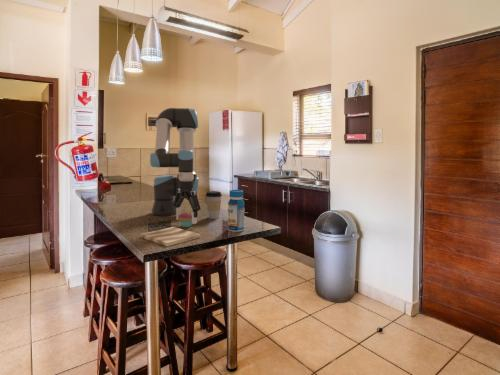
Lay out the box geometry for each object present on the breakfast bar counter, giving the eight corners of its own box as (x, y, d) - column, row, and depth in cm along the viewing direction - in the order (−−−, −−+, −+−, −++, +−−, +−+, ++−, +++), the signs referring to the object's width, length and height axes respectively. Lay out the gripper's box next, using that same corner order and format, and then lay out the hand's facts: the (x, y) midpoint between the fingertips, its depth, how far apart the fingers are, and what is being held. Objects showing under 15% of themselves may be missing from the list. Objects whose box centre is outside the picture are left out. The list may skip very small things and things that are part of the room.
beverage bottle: (245, 231, 159) (246, 191, 157) (228, 232, 158) (228, 191, 155) (243, 227, 167) (243, 189, 165) (226, 228, 166) (227, 189, 163)
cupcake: (186, 223, 175) (186, 201, 173) (198, 225, 170) (198, 203, 169) (174, 226, 168) (174, 203, 166) (186, 229, 163) (186, 205, 162)
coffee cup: (219, 220, 183) (219, 193, 181) (203, 219, 185) (203, 193, 183) (223, 216, 193) (223, 191, 191) (208, 215, 194) (208, 190, 192)
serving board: (140, 237, 148) (140, 233, 148) (173, 229, 162) (173, 226, 161) (166, 246, 135) (166, 242, 135) (200, 237, 149) (200, 234, 148)
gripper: (165, 178, 171) (166, 219, 174) (195, 182, 155) (196, 226, 158) (177, 177, 176) (178, 216, 179) (207, 181, 161) (207, 224, 164)
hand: (186, 221), depth 169 cm, fingers open, 12 cm apart
